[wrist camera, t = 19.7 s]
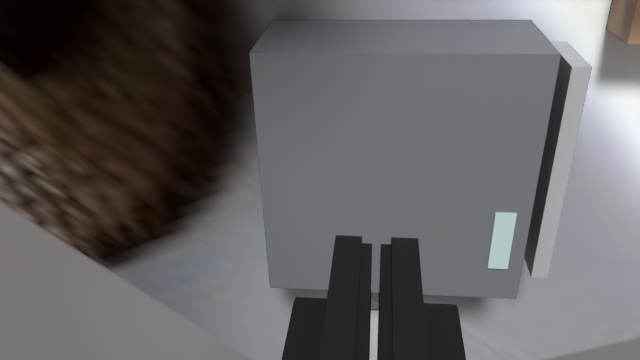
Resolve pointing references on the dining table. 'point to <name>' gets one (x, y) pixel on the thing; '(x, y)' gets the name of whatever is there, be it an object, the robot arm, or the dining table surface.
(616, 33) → the pedestal
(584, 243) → the dining table surface
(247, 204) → the dining table surface
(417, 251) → the robot arm
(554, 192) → the tray
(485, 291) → the grey drawer box
